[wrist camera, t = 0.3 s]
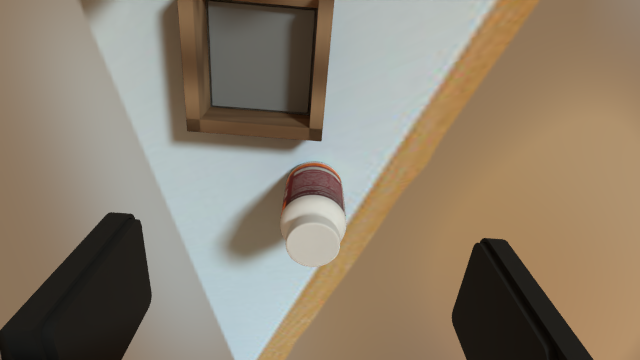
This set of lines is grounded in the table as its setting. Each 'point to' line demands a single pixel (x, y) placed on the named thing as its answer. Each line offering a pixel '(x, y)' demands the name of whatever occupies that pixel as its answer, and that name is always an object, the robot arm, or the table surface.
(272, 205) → the table surface
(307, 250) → the pill bottle
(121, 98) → the table surface
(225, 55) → the pad
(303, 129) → the bay
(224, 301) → the table surface
